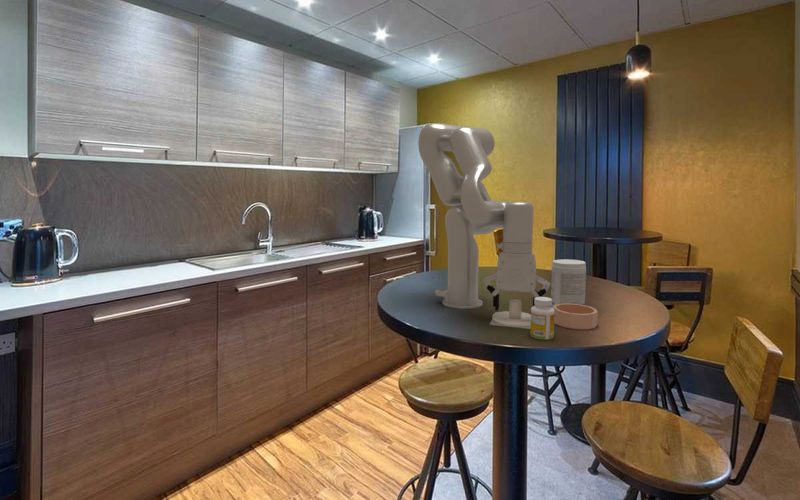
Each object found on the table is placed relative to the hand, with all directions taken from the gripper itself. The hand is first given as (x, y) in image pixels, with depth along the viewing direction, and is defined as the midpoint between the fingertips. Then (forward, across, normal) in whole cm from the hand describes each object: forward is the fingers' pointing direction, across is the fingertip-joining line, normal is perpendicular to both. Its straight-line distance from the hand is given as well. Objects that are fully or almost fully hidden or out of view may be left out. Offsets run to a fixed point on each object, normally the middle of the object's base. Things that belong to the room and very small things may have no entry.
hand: (515, 310), depth 106 cm
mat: (+3, 0, 0) cm, 3 cm away
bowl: (+3, +15, +3) cm, 16 cm away
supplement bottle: (+4, +7, -10) cm, 13 cm away
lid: (+3, 0, 0) cm, 3 cm away
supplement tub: (+4, +14, +19) cm, 24 cm away
